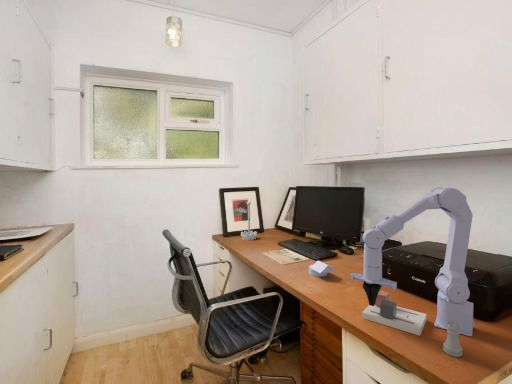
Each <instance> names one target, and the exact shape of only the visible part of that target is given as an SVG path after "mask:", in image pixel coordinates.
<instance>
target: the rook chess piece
mask: <svg viewBox="0 0 512 384" xmlns="http://www.w3.org/2000/svg"><path fill="white" fill-rule="evenodd" d="M446 327H447V328H448V330H446V333H447V334H446V340H445V341H444V342H443V344H442V351H444V353H445V354H447V355H448V356H451V357H454V358H460V357H462V356H463V354H464V353H463V348H462V346H461V344H460V339H459V336H460V333H458V331H459V330H460V327H459V324H458V323H455V324H454V322H453V321H452V323H450V321H448V322H447V324H446Z"/></svg>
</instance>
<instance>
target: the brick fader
mask: <svg viewBox="0 0 512 384" xmlns="http://www.w3.org/2000/svg"><path fill="white" fill-rule="evenodd" d="M383 299H384V300H388V301H390V292H388V291H383V290H380V291H379V293H378V295H377V298H376V302H375V305H377V306H380V303H381V302H382V301H383Z"/></svg>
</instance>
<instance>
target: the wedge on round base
mask: <svg viewBox="0 0 512 384" xmlns="http://www.w3.org/2000/svg"><path fill="white" fill-rule="evenodd" d="M332 272H336V269H334V268H333V267H332V266H330V265H329V264H327V263H324V262H322V261H320V260H317V261H316V262H315V263H313V264H310V265H308V274H309V275H311V276H313V277H326V276H327V275H328V273H332Z"/></svg>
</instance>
